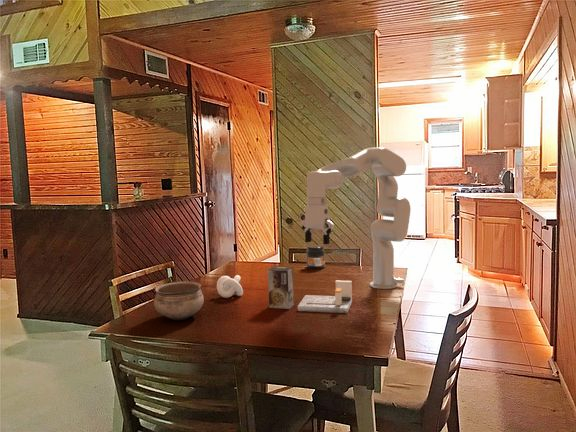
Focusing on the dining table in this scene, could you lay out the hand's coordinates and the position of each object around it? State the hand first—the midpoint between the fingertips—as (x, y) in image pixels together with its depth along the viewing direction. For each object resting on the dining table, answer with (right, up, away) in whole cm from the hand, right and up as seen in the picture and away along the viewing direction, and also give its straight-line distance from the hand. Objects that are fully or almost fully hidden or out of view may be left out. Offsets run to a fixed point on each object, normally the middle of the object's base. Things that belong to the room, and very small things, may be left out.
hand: (317, 242), depth 196 cm
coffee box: (-15, -27, +2) cm, 30 cm away
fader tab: (+8, -24, -5) cm, 26 cm away
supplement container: (+4, -18, +73) cm, 75 cm away
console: (+3, -26, 0) cm, 26 cm away
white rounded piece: (-37, -25, +20) cm, 49 cm away
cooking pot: (-54, -29, -9) cm, 62 cm away
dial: (+11, -23, +3) cm, 26 cm away
